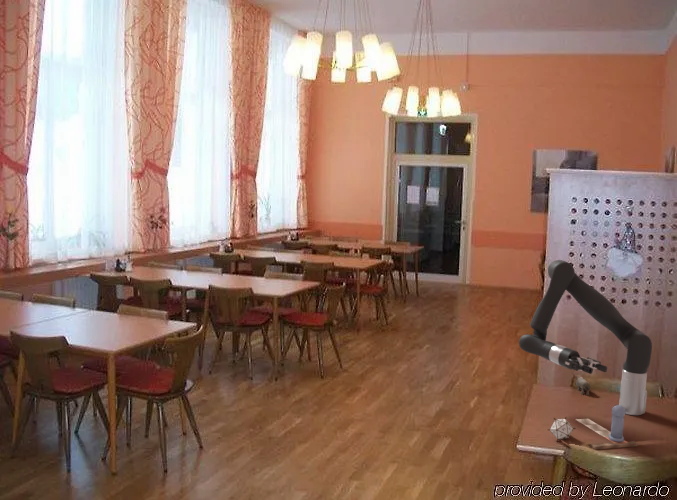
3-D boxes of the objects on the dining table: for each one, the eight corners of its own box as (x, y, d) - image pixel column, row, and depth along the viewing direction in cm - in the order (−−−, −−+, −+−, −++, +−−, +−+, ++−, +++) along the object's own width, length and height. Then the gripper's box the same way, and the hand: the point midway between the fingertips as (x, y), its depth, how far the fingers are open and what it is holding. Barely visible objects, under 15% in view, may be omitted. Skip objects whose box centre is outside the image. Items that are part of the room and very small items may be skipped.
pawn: (618, 436, 264) (620, 402, 262) (626, 441, 259) (629, 407, 257) (605, 437, 262) (608, 403, 261) (614, 442, 258) (617, 408, 256)
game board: (593, 419, 283) (593, 417, 283) (637, 446, 259) (637, 443, 258) (552, 422, 278) (553, 419, 278) (594, 449, 253) (594, 446, 253)
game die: (564, 451, 260) (577, 436, 253) (542, 440, 261) (554, 425, 254) (568, 432, 267) (580, 417, 260) (546, 422, 268) (558, 406, 261)
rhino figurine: (580, 386, 327) (582, 373, 326) (591, 396, 313) (592, 382, 313) (571, 385, 327) (572, 372, 326) (581, 395, 313) (582, 382, 313)
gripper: (553, 348, 276) (589, 361, 263) (577, 346, 284) (613, 359, 271) (550, 367, 277) (585, 381, 264) (573, 364, 286) (609, 378, 272)
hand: (599, 370), depth 268 cm, fingers open, 8 cm apart
